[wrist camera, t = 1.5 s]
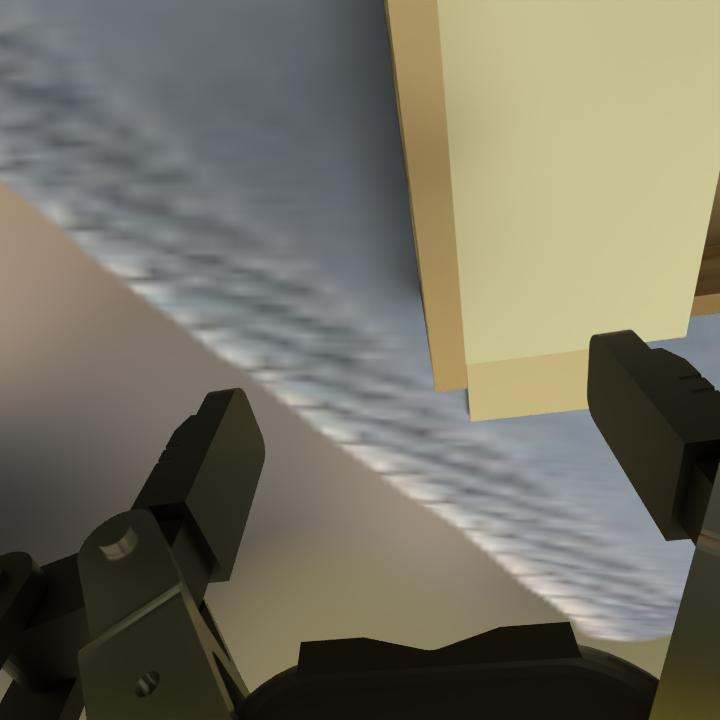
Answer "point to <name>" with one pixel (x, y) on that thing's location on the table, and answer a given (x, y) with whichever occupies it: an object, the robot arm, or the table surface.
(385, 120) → the table surface
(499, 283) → the lid
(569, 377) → the stone tile
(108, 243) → the table surface
